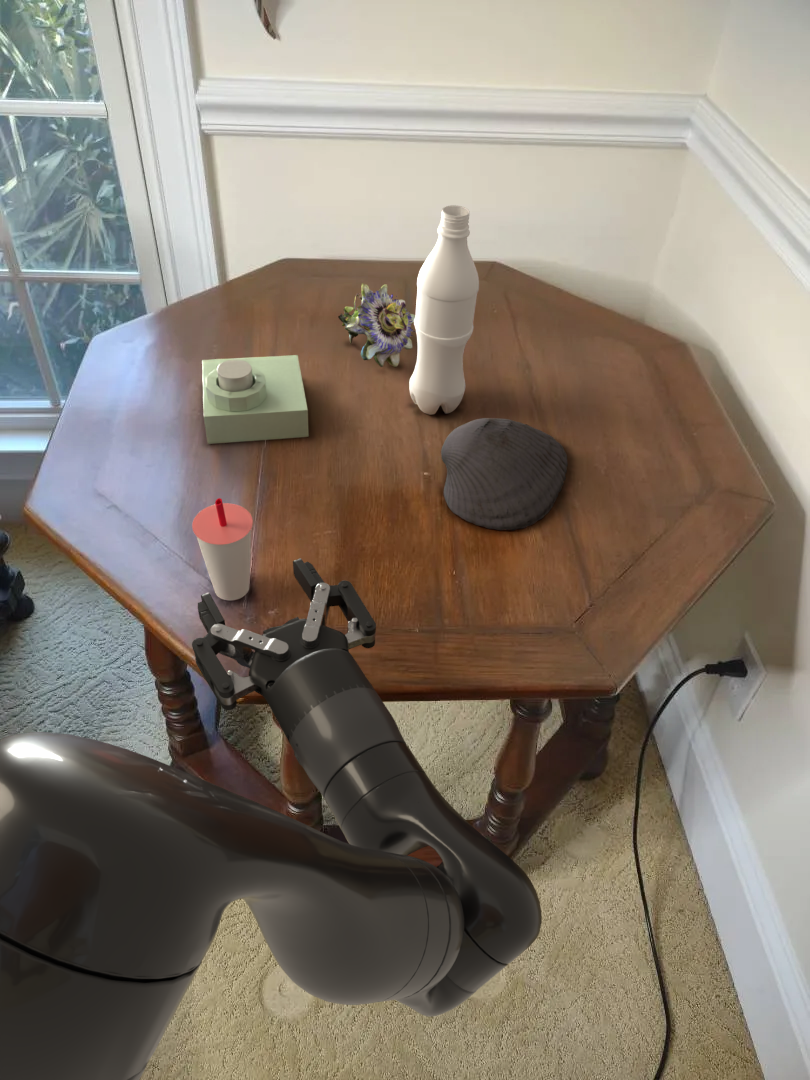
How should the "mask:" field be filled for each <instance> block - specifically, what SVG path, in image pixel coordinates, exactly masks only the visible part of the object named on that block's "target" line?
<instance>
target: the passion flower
mask: <svg viewBox="0 0 810 1080" xmlns="http://www.w3.org/2000/svg"><path fill="white" fill-rule="evenodd" d="M388 289H389V288H388V284H383V285H382V286H381V287H379V289H378V290H375V292H374V291H373V290H372V289H370V288H369V285H368V284H366V283H361V291H360V292H361V293H360V292H357V293H356V294H355V297H354V302H353V306H345V307H344V308H343V313H340V314H339V315H338V320H340V322H341V327H344V330H345V331H347V333H348V335H349V336H348V338H349V342H350V343H349V344H350V345H352V343H353V339H354V338H356V337H358V336H359V335H364V336H366V338H367V339H366V343H365V344H364V345H363V346H362V348H361V351H360V357H361V359H362V360H363V361H369V360H370V359H371V360H372V358H373V359H374V361H375V362H376V364H378V366H379V367H380V368H382V367H383V366H384V365H385V362H387V363H388V364H389V365H390V366H392V367H394V368H397V367H398V366H399V364H400V361H401V360H400V353H401V351H402V350H403V349H405V350H412V349H413V340H412V339H411V337H413V335H412V332H414V333H416V330H414V329H413V328H412V324H414V319H415V316H416V314H414V313H410V311H409V310H408V309H407V307H406V306H407V305H406V301H405V300H404V299H401V298H400V299H398V298H397V297H398V295H395V296H396V298H394V294H393V293H391V294H390V295H389V293H388V292H389V291H388ZM357 297H358V299H360V301H361V303H360V304H359V305H358V306H357V305H356V304H357ZM393 298H394V299H393ZM352 311H353V313H352V314H350V313H351V312H352Z"/></svg>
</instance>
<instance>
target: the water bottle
mask: <svg viewBox="0 0 810 1080" xmlns="http://www.w3.org/2000/svg"><path fill="white" fill-rule="evenodd" d="M469 223H470V210H469V209H468V208H467V207H464V206H461V205H456V204H451V205H446V206H444V207H442V209H441V214H440V222H439V223H438V227H437V230H436V232H437V234H438V238H437V241H436V243H435V245H434V247H433V249H431V251H430V252H429V254H428V256H427V257H426V259H425V261H424V262H423V264H422V266H421V267H420V269H419V271H418V275H417V278H416V287H417V289H416V290H417V291H416V301H415V302H416V303H415V304H416V305H415V319H414V323H413V325H414V329H415V334H416V342H417V343H416V344H417V354H416V355H417V356H416V362H415V366H414V370H413V372H412V374H411V376H410V378H409V380H408V387H409V389H408V390H409V395H410V398H411V400H412V402H413V404H414V405H417V407H418V409H419V411H421V412H422V413H423V414H427V415H435V414H436V413H437V412H438V411H439V408H440V407H441V409H442V411H443V412H444V414H446V415H447V414H451V413H452V412H454V411H455V410H456V409H457V408H458V406H459V405H460V404H461V402H462V401H463V398H464V394H465V391H466V379H465V374H464V353H465V348H466V345H467V344H468V341H469V340H470V339H471V337H472V334H473V331H474V328H475V327H474V326H475V325H474V320H475V319H474V318H475V311H476V305H477V297H478V293H479V290H480V278H479V273H478V269H477V267H476V263H475V262H474V259H473V257H472V254H471V252H470V249H469V246H468V237H470V235H471V230H470V225H469Z"/></svg>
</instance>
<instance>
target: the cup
mask: <svg viewBox="0 0 810 1080" xmlns="http://www.w3.org/2000/svg"><path fill="white" fill-rule="evenodd" d="M253 525H254V520H253V517H252V514H251V512H250V511H249V510H247V509H246V508H245V507H243V506H241V505H239V504H236V503H231V502H230V503H228V502H223V499H222V498H221V497H218V498H217V499H216V500H215V502H214V504H212V505H209V506H207V507H205V508H203V509H201V510H200V511H199V512H198V513H197V514H196V515H195V517H194V518H193V520H192V525H191V527H192V532H193V533H194V535H195V536H196V539H197V542H198V545H199V548H200V551H201V555H202V558H203V561H204V564H205V567H206V571H207V573H208V576H209V580H210V582H211V584H212V587H213V591H214V593H215V595H216V597H218V598H219V599H221V600H224V601H237V600H240V599H242V598H243V597H245V596H246V595H247V593H248V592H249V591H250V584H251V583H250V581H251V555H252V554H251V553H252V552H251V551H252V528H253Z"/></svg>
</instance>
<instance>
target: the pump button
mask: <svg viewBox="0 0 810 1080" xmlns="http://www.w3.org/2000/svg"><path fill="white" fill-rule="evenodd" d="M217 375H218V382H219V386H220V388H221V389H222V390H225V391H229V392H240V391H244V390H247V389H249V388H251V387H252V385H253V375H252V367H251V365H250V364H249V363H248V362H246V361H243V360H228V361H225V362H223V363H221V364H220V365H219V366H218V368H217Z"/></svg>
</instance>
